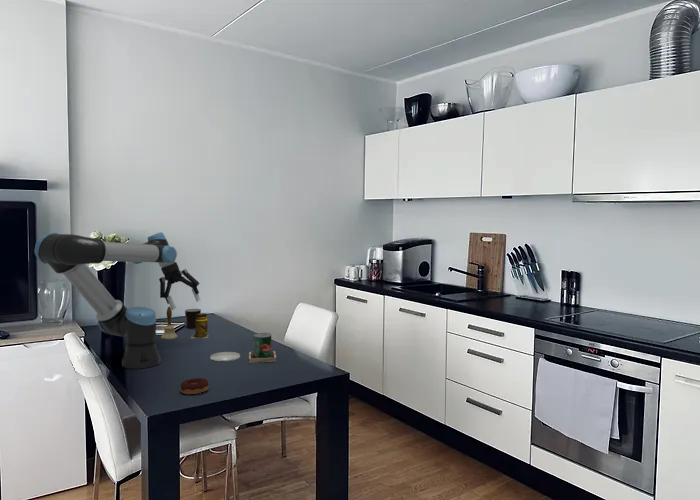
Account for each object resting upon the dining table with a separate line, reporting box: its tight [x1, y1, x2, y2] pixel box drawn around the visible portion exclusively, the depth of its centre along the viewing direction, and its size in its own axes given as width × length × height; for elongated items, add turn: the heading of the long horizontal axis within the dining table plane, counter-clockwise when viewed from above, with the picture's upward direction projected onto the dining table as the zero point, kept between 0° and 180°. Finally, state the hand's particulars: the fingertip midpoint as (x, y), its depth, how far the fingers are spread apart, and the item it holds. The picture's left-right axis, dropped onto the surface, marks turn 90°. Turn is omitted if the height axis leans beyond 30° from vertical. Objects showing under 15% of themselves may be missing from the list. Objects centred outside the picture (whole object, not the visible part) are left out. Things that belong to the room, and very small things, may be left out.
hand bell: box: [160, 306, 178, 340], centre depth 258 cm, size 8×8×16 cm
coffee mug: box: [184, 308, 202, 330], centre depth 283 cm, size 12×9×10 cm
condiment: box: [190, 312, 209, 339], centre depth 261 cm, size 7×8×12 cm
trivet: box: [209, 351, 241, 362], centre depth 224 cm, size 13×13×1 cm
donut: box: [179, 377, 209, 395], centre depth 180 cm, size 10×10×4 cm
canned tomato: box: [253, 332, 272, 358], centre depth 221 cm, size 8×8×11 cm
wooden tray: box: [248, 350, 277, 364], centre depth 221 cm, size 12×12×2 cm
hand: (186, 304), depth 240 cm, fingers open, 13 cm apart
